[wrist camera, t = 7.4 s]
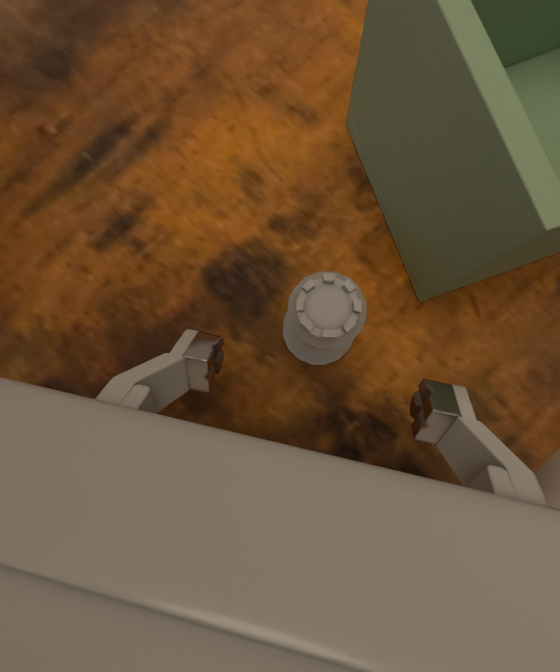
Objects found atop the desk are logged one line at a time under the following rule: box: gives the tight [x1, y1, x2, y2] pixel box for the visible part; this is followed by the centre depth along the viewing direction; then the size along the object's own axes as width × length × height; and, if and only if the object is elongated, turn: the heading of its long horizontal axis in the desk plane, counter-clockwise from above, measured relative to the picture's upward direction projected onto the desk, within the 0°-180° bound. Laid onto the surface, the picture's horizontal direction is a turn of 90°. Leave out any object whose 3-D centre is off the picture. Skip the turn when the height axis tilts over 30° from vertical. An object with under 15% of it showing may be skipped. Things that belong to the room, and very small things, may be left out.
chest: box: [346, 0, 560, 302], centre depth 15 cm, size 13×15×10 cm
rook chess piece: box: [283, 272, 366, 365], centre depth 16 cm, size 4×4×8 cm
